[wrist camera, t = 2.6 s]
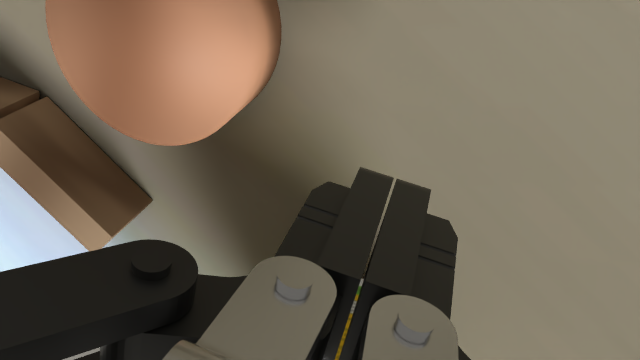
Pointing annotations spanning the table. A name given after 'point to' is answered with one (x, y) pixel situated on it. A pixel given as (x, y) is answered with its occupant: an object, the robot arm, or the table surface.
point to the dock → (64, 168)
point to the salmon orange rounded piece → (165, 61)
